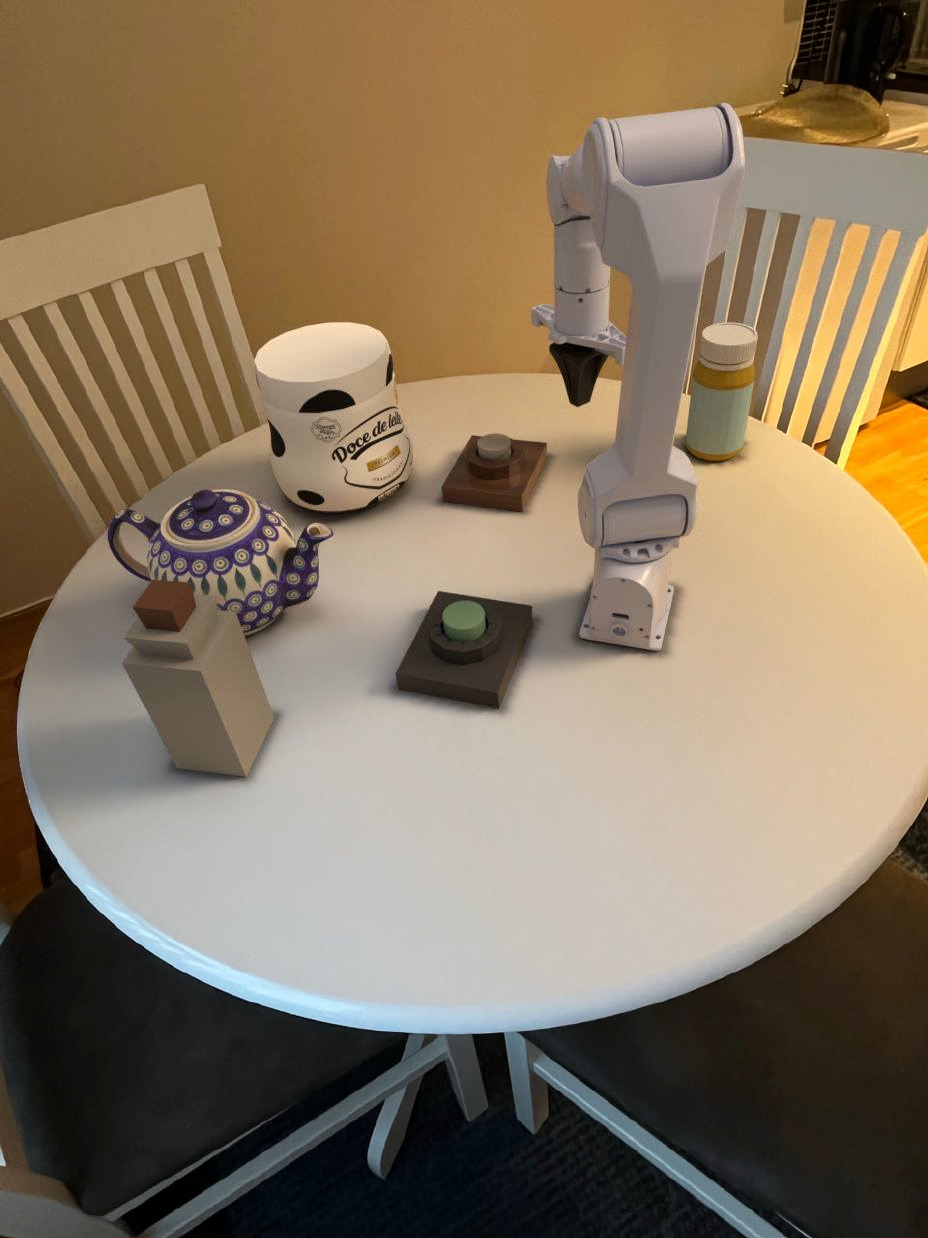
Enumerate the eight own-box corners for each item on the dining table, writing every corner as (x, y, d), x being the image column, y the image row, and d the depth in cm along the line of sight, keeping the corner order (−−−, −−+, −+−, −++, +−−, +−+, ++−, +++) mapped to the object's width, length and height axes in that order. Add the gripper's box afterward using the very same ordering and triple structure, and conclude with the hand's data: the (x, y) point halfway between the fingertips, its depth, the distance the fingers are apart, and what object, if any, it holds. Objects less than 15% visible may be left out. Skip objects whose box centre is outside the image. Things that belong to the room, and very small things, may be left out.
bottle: (748, 461, 102) (768, 344, 92) (690, 464, 102) (704, 349, 92) (735, 432, 107) (753, 318, 97) (680, 435, 108) (693, 322, 97)
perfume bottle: (246, 777, 73) (182, 628, 61) (176, 768, 74) (100, 621, 62) (274, 718, 78) (220, 569, 65) (208, 710, 79) (142, 563, 67)
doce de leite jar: (404, 526, 98) (382, 385, 86) (264, 526, 100) (222, 388, 88) (426, 448, 110) (409, 315, 98) (300, 449, 113) (268, 319, 101)
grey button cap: (506, 464, 99) (505, 452, 98) (474, 461, 100) (473, 448, 99) (515, 447, 102) (514, 434, 101) (484, 444, 103) (483, 431, 102)
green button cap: (478, 645, 77) (477, 632, 76) (438, 638, 78) (436, 625, 77) (491, 617, 80) (489, 603, 79) (451, 610, 81) (450, 597, 80)
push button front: (499, 708, 76) (496, 679, 73) (398, 689, 79) (392, 659, 76) (532, 621, 84) (531, 591, 82) (440, 606, 87) (436, 577, 84)
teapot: (103, 641, 87) (44, 528, 77) (173, 553, 98) (128, 443, 88) (324, 671, 81) (290, 552, 71) (373, 573, 92) (349, 458, 82)
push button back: (522, 511, 98) (521, 483, 95) (442, 501, 101) (439, 473, 98) (547, 457, 106) (546, 429, 104) (472, 449, 109) (470, 422, 106)
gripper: (507, 276, 89) (513, 392, 98) (601, 314, 80) (597, 439, 89) (558, 257, 92) (558, 372, 101) (654, 293, 83) (645, 415, 92)
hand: (580, 402), depth 95 cm, fingers closed
